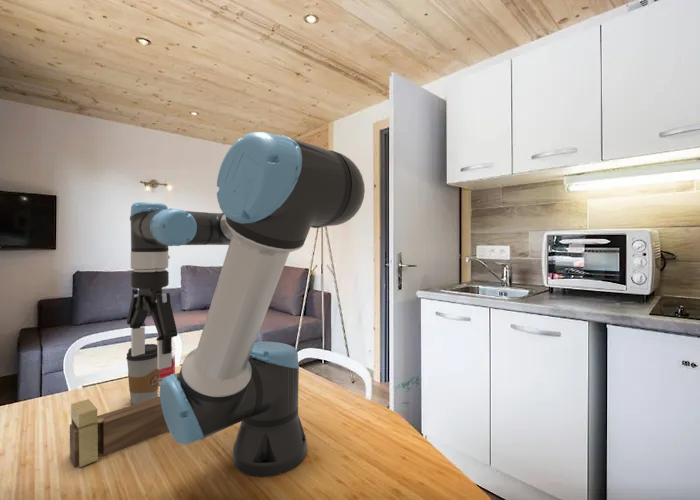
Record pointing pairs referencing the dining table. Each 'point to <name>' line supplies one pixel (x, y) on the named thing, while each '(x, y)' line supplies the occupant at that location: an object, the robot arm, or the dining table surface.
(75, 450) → the base
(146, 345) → the coffee cup
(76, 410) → the lock collar
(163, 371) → the pill bottle
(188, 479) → the dining table surface
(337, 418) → the dining table surface
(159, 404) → the tong arm
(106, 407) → the dining table surface
